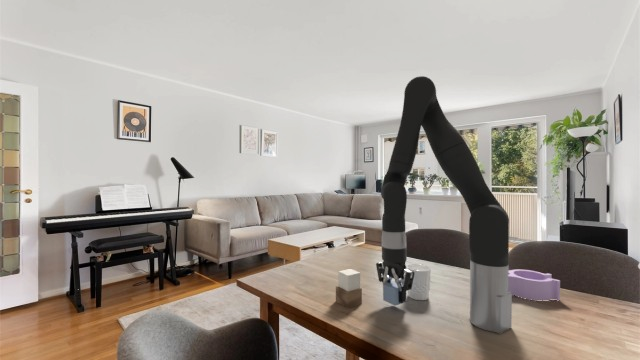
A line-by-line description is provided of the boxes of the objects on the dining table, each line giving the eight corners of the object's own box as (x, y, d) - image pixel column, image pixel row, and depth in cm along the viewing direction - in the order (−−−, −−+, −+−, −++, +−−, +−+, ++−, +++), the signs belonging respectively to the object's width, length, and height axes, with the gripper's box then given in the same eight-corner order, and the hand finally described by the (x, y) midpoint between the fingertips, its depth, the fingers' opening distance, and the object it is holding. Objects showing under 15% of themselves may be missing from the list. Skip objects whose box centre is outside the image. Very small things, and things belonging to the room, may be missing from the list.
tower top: (360, 288, 95) (360, 272, 95) (347, 291, 93) (347, 275, 93) (350, 283, 100) (350, 268, 100) (338, 286, 97) (338, 271, 97)
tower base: (361, 304, 95) (361, 288, 95) (347, 308, 92) (347, 292, 92) (350, 297, 100) (350, 282, 100) (335, 301, 97) (335, 286, 97)
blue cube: (406, 301, 92) (406, 285, 92) (395, 305, 89) (395, 289, 89) (394, 296, 96) (393, 281, 96) (383, 300, 93) (382, 284, 93)
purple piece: (493, 297, 101) (493, 277, 101) (485, 284, 113) (485, 266, 113) (563, 305, 95) (564, 283, 95) (547, 290, 106) (547, 271, 106)
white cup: (414, 302, 96) (415, 271, 96) (401, 293, 104) (402, 264, 104) (435, 299, 98) (435, 269, 98) (421, 290, 106) (421, 263, 106)
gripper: (420, 247, 88) (421, 304, 88) (385, 239, 100) (386, 290, 100) (404, 251, 84) (404, 311, 84) (369, 242, 96) (369, 295, 96)
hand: (394, 299), depth 92 cm, fingers closed on blue cube, 5 cm apart
